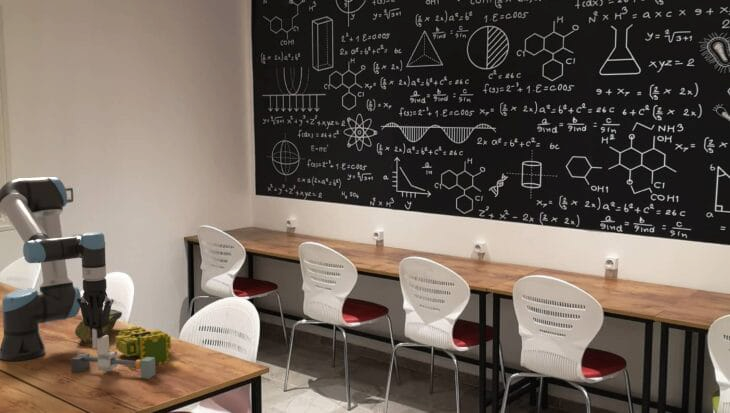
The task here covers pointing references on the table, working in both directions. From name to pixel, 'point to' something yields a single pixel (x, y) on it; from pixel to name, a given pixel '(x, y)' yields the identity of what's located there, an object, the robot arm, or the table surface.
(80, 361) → the rail
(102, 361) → the cream l-shaped block
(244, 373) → the table surface
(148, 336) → the toy
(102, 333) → the robot arm
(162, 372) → the table surface
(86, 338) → the stone
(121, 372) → the table surface
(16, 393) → the table surface
